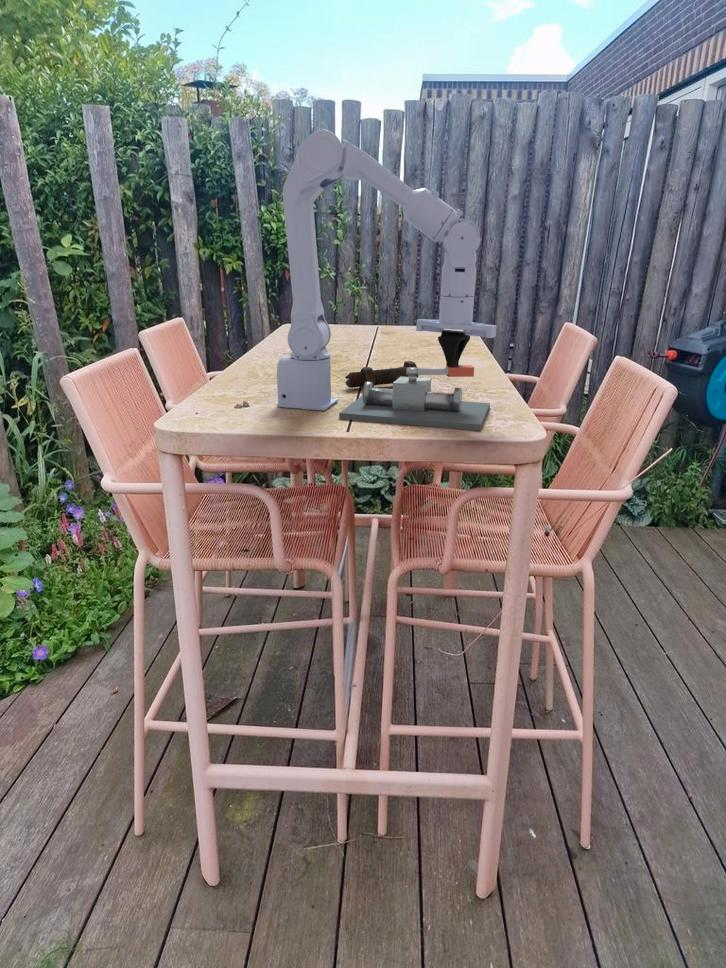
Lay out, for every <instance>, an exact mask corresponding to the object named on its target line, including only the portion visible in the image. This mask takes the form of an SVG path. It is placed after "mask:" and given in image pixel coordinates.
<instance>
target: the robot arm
mask: <svg viewBox="0 0 726 968" xmlns="http://www.w3.org/2000/svg"><path fill="white" fill-rule="evenodd" d="M343 143H344V144H343ZM296 148H297V149H296V152H295V153H296V154H295V158H294V160H293V162H292V165H291V167H290V170H289V171H288V173H287V174H288V175H287V177H286V179H285V182H284V183H283V186H282V202H283V209H284V210H283V213H284V221H285V222H284V223H285V233H286V234H285V235H286V243H287V255H288V264H289V265H288V266H289V274H290V285H291V296H292V306H291V311H290V322H291V323H290V328H289V330H288V333H287V344H288V347H289V349H290V351H291V353H290V355H282V356H281V357H280V358H279V360H278V362H277V367H276V385H277V388H276V389H277V403H276V407H278V408H288V409H299V410H302V409H303V410H313V411H326V410H327V409H329V408H330V407H332V406H333V405H335V404H337V402H339V398H338V397H337V398H336V397H332V383H331V380H332V379H331V378H332V377H331V369H332V368H331V367H332V366H331V353H330V352H329V350H328V349H327V346H328V344H329V343H330V341H331V337H332V332H331V327H330V325H329V324H328V322H327V320H326V317H325V309H324V306H323V303H322V299H321V298H322V297H321V284H320V272H319V260H318V259H319V258H318V247H317V246H318V245H317V235H316V223H315V209H314V202H315V201H316V200H317V199H318V197H320V195H321V194H322V193H323V192H324V191H325V190H326V188H328V187H330V186H331V185H333V184H335V183H337V182H338V181H339V180H341V179H342V178H346V179H347V180H349V181H350V180H351V181H364V182H366V183H367V184H368V185H369V186H371V187H372V188H374V189H375V190H377V191H378V192H380V193H381V194H383V195H384V196H386V197H387V198H388V199H390V200H391V201H393V202H395V204H397V205H399V206H400V207H402V210H403V216H404V221H406V222H407V223H408V224H410V225H411V226H412V227H414V228H415V229H417V231H419V232H420V233H422V234H423V235H425V236H426V237H427V238H428V239H430V240H431V241H433V242H434V243H438V242H441V243H442V247H443V249H444V250H445V251H444V255H443V256H444V257H443V266H442V268H441V278H440V279H441V283H440V297H439V298H440V299H439V314H438V317H439V318H438V319H431V318H430V319H425V318H421V319H420V318H419V319H416V324H415V325H416V326H415V327H416V329H415V331H416V332H432V333H441V334H440V335H439V336H437V341H438V343H439V345H440V347H441V350H442V352H443V356H444V358H445V361H446V365H445V367H447V365H459V364H460V363H459V361H460V359H461V356H462V354H463V352H464V350H465V349H466V346H467V345H468V343H469V341H470V339H471V336H472V337H473V336H474V337H482V338H483V337H484V338H485V339H493V338H496V337H497V329H498V328H497V327H498V325H495V324H486V323H479V322H476V321H475V322H473V315H474V304H475V294H476V293H475V291H476V280H477V279H476V278H477V267H476V263H477V261H478V260H477V259H478V257H477V250H478V248H479V247H480V245H481V241H482V238H481V234H480V230H479V228H478V226H477V225H476V223H475V222H473V221H472V220H471V219H467V218H461V216H462V215H463V213H464V212H463V210H461V209H460V208H457V209H454V208H453V207H452V206H450V205H449V204H448V203H447V202H445V201H444V200H443V199H441V198H440V197H439V195H440V192H438V191H437V190H436V189H434V188H432V190H431V191H430V190H429V189H428V188H427V187H422V188H418V189H413V188H411V186H409V185H407V184H406V183H405V182H404V181H403V180H402V179H400V178H399V177H398V176H396V174H394V173H393V172H391V171H390V170H388V168H386V167H385V166H384V165H382V164H381V163H380V162H379V161H377V160H376V159H375V158H374V157H372V156H371V154H369V153H367V152H366V151H364V150H363V149H361V148H360V147H358V146H356V145H355V144H353V143H351V142H349V141H347V140H345V139H342V141H341V140H340V139H339V137H338V136H337V135H336V134H335V133H334V132H332V131H330V130H327V129H319V130H318V129H317V130H315V131H314V132H311V134H309V135H308V137H306V138H305V140H303V141H302V143H300V145H299V146H298V147H296ZM445 376H446V377H448V376H447V375H445Z"/></svg>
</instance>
